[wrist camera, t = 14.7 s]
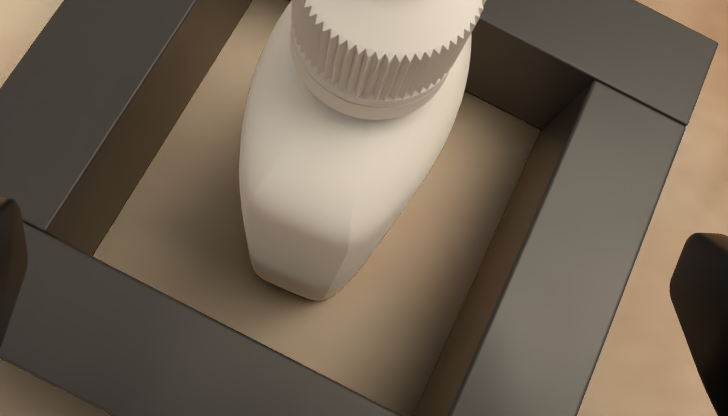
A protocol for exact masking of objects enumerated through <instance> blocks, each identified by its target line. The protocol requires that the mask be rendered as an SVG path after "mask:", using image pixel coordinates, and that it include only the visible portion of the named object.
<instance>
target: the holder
mask: <svg viewBox="0 0 728 416" xmlns="http://www.w3.org/2000/svg"><path fill="white" fill-rule="evenodd" d="M251 1H252V0H64V1H63V2H62V4H61V5H60V7H59V8H58V9H57V11H56V12H55V13H54V15H53V16H52V18H51V19H50V20H49V22H48V23H47V25H46V26H45V27H44V29H43V30H42V31H41V33H40V34H39V36H38V37H37V38H36V40H35V41H34V43H33V44H32V45H31V47H30V48H29V49H28V51H27V52H26V54H25V55H24V56H23V58H22V59H21V61H20V62H19V63H18V65H17V66H16V67H15V69H14V70H13V72H12V73H11V74H10V76H9V77H8V79H7V80H6V81H5V83H4V84H3V86H2V87H1V88H0V197H5V198H12V199H14V200H15V201H16V202H17V203H18V205H19V207H20V210H21V215H22V221H23V227H24V233H25V239H26V245H27V252H28V265H27V271H26V274H25V277H24V280H23V283H22V286H21V289H20V292H19V295H18V298H17V301H16V304H15V307H14V310H13V313H12V316H11V319H10V322H9V325H8V328H7V331H6V334H5V337H4V340H3V343H2V346H1V349H0V358H1V359H3V360H5V361H7V362H9V363H11V364H13V365H15V366H17V367H19V368H20V369H22V370H24V371H26V372H28V373H30V374H32V375H34V376H36V377H38V378H40V379H42V380H44V381H46V382H48V383H50V384H52V385H53V386H55V387H57V388H59V389H61V390H63V391H65V392H67V393H69V394H71V395H73V396H75V397H77V398H79V399H81V400H83V401H85V402H87V403H88V404H90V405H92V406H94V407H96V408H98V409H100V410H102V411H104V412H106V413H108V414H110V415H112V416H402V415H400V414H398V413H396V412H394V411H392V410H390V409H388V408H386V407H384V406H382V405H380V404H378V403H376V402H374V401H372V400H370V399H368V398H367V397H365V396H363V395H361V394H359V393H357V392H355V391H353V390H351V389H349V388H347V387H345V386H343V385H341V384H339V383H337V382H335V381H333V380H331V379H330V378H328V377H326V376H324V375H322V374H320V373H318V372H316V371H314V370H312V369H310V368H308V367H306V366H304V365H302V364H300V363H298V362H296V361H295V360H293V359H291V358H289V357H287V356H285V355H283V354H281V353H279V352H277V351H275V350H273V349H271V348H269V347H267V346H265V345H263V344H261V343H259V342H258V341H256V340H254V339H252V338H250V337H248V336H246V335H244V334H242V333H240V332H238V331H236V330H234V329H232V328H230V327H228V326H226V325H224V324H222V323H221V322H219V321H217V320H215V319H213V318H211V317H209V316H207V315H205V314H203V313H201V312H199V311H197V310H195V309H193V308H191V307H189V306H187V305H185V304H184V303H182V302H180V301H178V300H176V299H174V298H172V297H170V296H168V295H166V294H164V293H162V292H160V291H158V290H156V289H154V288H152V287H150V286H149V285H147V284H145V283H143V282H141V281H139V280H137V279H135V278H133V277H131V276H129V275H127V274H125V273H123V272H121V271H119V270H117V269H115V268H113V267H112V266H110V265H108V264H106V263H104V262H102V261H100V260H98V259H96V258H94V257H92V255H93V254H94V252H95V251H96V249H97V247H98V246H99V244H100V243H101V241H102V239H103V238H104V236H105V235H106V233H107V231H108V230H109V228H110V227H111V225H112V223H113V222H114V220H115V219H116V217H117V215H118V214H119V212H120V211H121V209H122V207H123V206H124V204H125V203H126V201H127V199H128V198H129V196H130V195H131V193H132V191H133V190H134V188H135V187H136V185H137V183H138V182H139V180H140V179H141V177H142V175H143V174H144V172H145V171H146V169H147V168H148V166H149V164H150V163H151V161H152V160H153V158H154V156H155V155H156V153H157V152H158V150H159V148H160V147H161V145H162V144H163V142H164V140H165V139H166V137H167V136H168V134H169V132H170V131H171V129H172V128H173V126H174V124H175V123H176V121H177V120H178V118H179V116H180V115H181V113H182V112H183V110H184V108H185V107H186V105H187V104H188V102H189V100H190V99H191V97H192V96H193V94H194V92H195V91H196V89H197V88H198V86H199V84H200V83H201V81H202V80H203V78H204V76H205V75H206V73H207V72H208V70H209V68H210V67H211V65H212V64H213V62H214V60H215V59H216V57H217V56H218V54H219V52H220V51H221V49H222V48H223V46H224V44H225V43H226V41H227V40H228V38H229V36H230V35H231V33H232V32H233V30H234V28H235V27H236V25H237V24H238V22H239V20H240V19H241V17H242V16H243V14H244V12H245V11H246V9H247V8H248V6H249V4H250V3H251ZM289 1H292V0H289ZM471 35H472V37H471V56H470V64H469V71H468V77H467V82H466V87H465V91H467V92H469V93H471V94H473V95H475V96H477V97H479V98H481V99H483V100H485V101H487V102H489V103H491V104H493V105H495V106H497V107H499V108H501V109H503V110H505V111H507V112H508V113H510V114H512V115H514V116H516V117H518V118H520V119H522V120H524V121H526V122H528V123H530V124H532V125H534V126H536V127H538V128H540V129H542V131H541V132H540V135H539V137H538V139H537V141H536V143H535V146H534V148H533V150H532V152H531V155H530V157H529V159H528V161H527V164H526V166H525V168H524V170H523V172H522V175H521V177H520V179H519V181H518V184H517V186H516V188H515V190H514V193H513V195H512V197H511V199H510V201H509V204H508V206H507V208H506V210H505V213H504V215H503V217H502V219H501V222H500V224H499V226H498V228H497V230H496V233H495V235H494V237H493V239H492V242H491V244H490V246H489V248H488V251H487V253H486V255H485V257H484V259H483V262H482V264H481V266H480V268H479V271H478V273H477V275H476V277H475V280H474V282H473V284H472V286H471V288H470V291H469V293H468V295H467V297H466V300H465V302H464V304H463V306H462V309H461V311H460V313H459V315H458V317H457V320H456V322H455V324H454V326H453V329H452V331H451V333H450V335H449V338H448V340H447V342H446V344H445V346H444V349H443V351H442V353H441V355H440V358H439V360H438V362H437V364H436V367H435V369H434V371H433V373H432V376H431V378H430V380H429V382H428V384H427V387H426V389H425V391H424V393H423V396H422V398H421V400H420V402H419V405H418V407H417V409H416V411H415V413H414V416H577V413H578V411H579V408H580V405H581V403H582V400H583V398H584V395H585V392H586V390H587V387H588V384H589V382H590V379H591V376H592V374H593V371H594V369H595V366H596V363H597V361H598V358H599V355H600V353H601V350H602V347H603V345H604V342H605V340H606V337H607V334H608V332H609V329H610V326H611V324H612V321H613V318H614V316H615V313H616V311H617V308H618V305H619V303H620V300H621V297H622V295H623V292H624V289H625V287H626V284H627V282H628V279H629V276H630V274H631V271H632V268H633V266H634V263H635V260H636V258H637V255H638V253H639V250H640V247H641V245H642V242H643V239H644V237H645V234H646V231H647V229H648V226H649V224H650V221H651V218H652V216H653V213H654V210H655V208H656V205H657V202H658V200H659V197H660V195H661V192H662V189H663V187H664V184H665V181H666V179H667V176H668V173H669V171H670V168H671V166H672V163H673V160H674V158H675V155H676V152H677V150H678V147H679V145H680V142H681V139H682V137H683V134H684V131H685V126H687V125H688V123H689V120H690V117H691V115H692V112H693V109H694V107H695V104H696V102H697V99H698V96H699V94H700V91H701V88H702V86H703V83H704V80H705V78H706V75H707V73H708V70H709V67H710V65H711V62H712V59H713V57H714V54H715V51H716V49H717V46H718V43H717V42H715V41H713V40H711V39H709V38H707V37H706V36H704V35H702V34H700V33H698V32H696V31H694V30H692V29H690V28H688V27H686V26H684V25H682V24H680V23H678V22H676V21H674V20H672V19H670V18H668V17H666V16H664V15H662V14H660V13H658V12H657V11H655V10H653V9H651V8H649V7H647V6H645V5H643V4H641V3H639V2H637V1H635V0H486V2H485V4H484V5H483V11H482V13H481V15H480V18H479V20H478V22H477V24H476V25H475V27H474V29H473V31H472V33H471Z"/></svg>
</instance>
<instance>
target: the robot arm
mask: <svg viewBox="0 0 728 416" xmlns="http://www.w3.org/2000/svg"><path fill="white" fill-rule="evenodd" d="M27 265H28V252H27V245H26V239H25V233H24V227H23V221H22V215H21V210H20V207H19V205H18V203H17V202H16V201H15V200H14V199H12V198H5V197H0V349H1V346H2V343H3V340H4V337H5V334H6V331H7V328H8V325H9V322H10V319H11V316H12V313H13V310H14V307H15V304H16V301H17V298H18V295H19V292H20V289H21V286H22V283H23V280H24V277H25V274H26V271H27ZM670 296H671V300H672V303H673V305H674V308H675V311H676V314H677V316H678V319H679V322H680V324H681V327H682V330H683V332H684V335H685V338H686V341H687V343H688V346H689V349H690V351H691V354H692V357H693V359H694V362H695V365H696V367H697V370H698V373H699V375H700V378H701V380H702V383H703V385H704V388H705V390H706V392H707V394H708V396H709V398H710V401H711V403H712V405H713V407H714V409H715V411H716V413H717V415H718V416H728V236H726V235H723V234H715V233H695V234H693V235H691V236H690V237H689V238H688V239H687V241H686V243H685V245H684V248H683V250H682V253H681V255H680V258H679V260H678V263H677V265H676V268H675V270H674V273H673V276H672V278H671V282H670Z"/></svg>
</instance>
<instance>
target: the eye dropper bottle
mask: <svg viewBox="0 0 728 416" xmlns="http://www.w3.org/2000/svg"><path fill="white" fill-rule="evenodd" d="M485 2H486V0H292V1H291V2H290V3H289V5H288V6H287V7H286V9H285V10H284V12H283V14H282V15H281V17H280V18H279V20H278V21H277V23H276V25H275V27H274V29H273V30H272V32H271V34H270V36H269V38H268V40H267V42H266V45H265V47H264V49H263V51H262V54H261V56H260V58H259V61H258V64H257V67H256V69H255V72H254V75H253V79H252V82H251V86H250V89H249V93H248V98H247V102H246V107H245V111H244V117H243V124H242V131H241V143H240V155H239V185H240V198H241V209H242V216H243V222H244V228H245V234H246V239H247V245H248V250H249V256H250V261H251V264H252V266H253V269H254V272H255V273H256V274H257V275H258V276H260V277H261V278H262V279H263V280H265V281H267V282H269V283H271V284H274V285H276V286H278V287H281V288H283V289H285V290H288V291H290V292H292V293H295V294H297V295H300V296H302V297H305V298H308V299H310V300H319V301H323V300H325V299H328V298H330V297H332V296H334V295H335V294H336V293H337V292H338V291H340V290H341V289H342V288H343V287H344V286H345V285H346V284H347V283H348V282H349V281H350V280H351V279H352V278H353V276H354V275H355V274H356V273H357V272H358V271H359V270H360V268H361V267H362V266H363V264H364V263H365V262H366V261H367V259H368V258H369V256H370V255H371V254H372V252H373V251H374V250H375V248H376V247H377V246H378V244H379V243H380V241H381V240H382V239H383V237H384V236H385V235H386V233H387V232H388V230H389V229H390V228H391V226H392V225H393V223H394V222H395V221H396V219H397V218H398V216H399V215H400V214H401V212H402V211H403V210H404V208H405V207H406V205H407V204H408V202H409V201H410V199H411V198H412V197H413V195H414V194H415V192H416V191H417V189H418V188H419V186H420V185H421V184H422V182H423V181H424V179H425V178H426V176H427V174H428V173H429V171H430V169H431V168H432V166H433V164H434V163H435V161H436V159H437V158H438V156H439V154H440V152H441V150H442V148H443V146H444V144H445V142H446V140H447V138H448V136H449V134H450V131H451V129H452V127H453V124H454V122H455V119H456V116H457V113H458V111H459V108H460V105H461V102H462V98H463V94H464V90H465V87H466V82H467V77H468V71H469V64H470V56H471V37H472V35H471V33H472V31H473V29H474V27H475V25H476V24H477V22H478V20H479V18H480V15H481V13H482V11H483V5H484V4H485Z"/></svg>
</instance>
